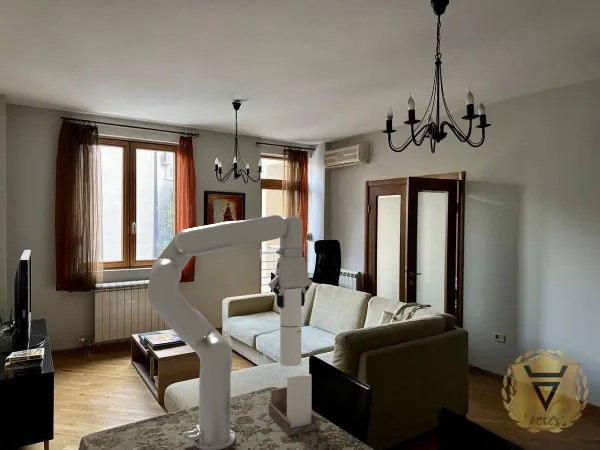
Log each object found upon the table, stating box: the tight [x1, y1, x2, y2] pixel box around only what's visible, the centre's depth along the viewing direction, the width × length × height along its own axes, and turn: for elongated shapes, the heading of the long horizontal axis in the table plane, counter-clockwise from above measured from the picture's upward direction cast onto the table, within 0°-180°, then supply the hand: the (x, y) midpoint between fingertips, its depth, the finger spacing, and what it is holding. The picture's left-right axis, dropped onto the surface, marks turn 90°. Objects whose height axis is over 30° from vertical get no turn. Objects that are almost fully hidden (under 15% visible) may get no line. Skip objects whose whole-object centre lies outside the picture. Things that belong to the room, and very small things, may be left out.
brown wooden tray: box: [268, 386, 319, 437], centre depth 136 cm, size 11×17×9 cm, turn 26°
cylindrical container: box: [279, 287, 302, 367], centre depth 134 cm, size 7×7×25 cm
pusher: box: [286, 373, 313, 428], centre depth 132 cm, size 8×1×16 cm, turn 116°
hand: (290, 306), depth 134 cm, fingers closed on cylindrical container, 7 cm apart
